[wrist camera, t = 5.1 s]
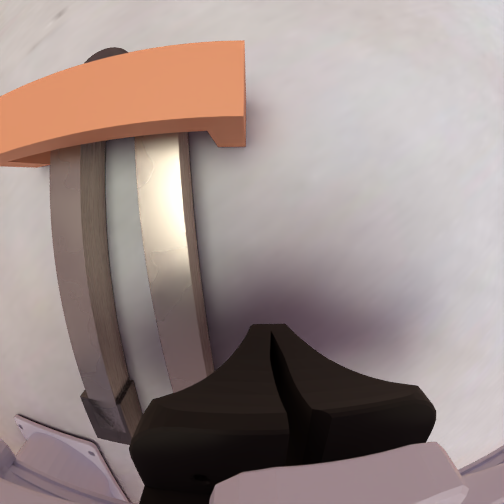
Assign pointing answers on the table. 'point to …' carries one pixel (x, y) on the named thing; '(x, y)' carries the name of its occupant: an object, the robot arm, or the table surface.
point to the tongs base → (90, 285)
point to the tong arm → (173, 255)
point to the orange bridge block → (128, 101)
